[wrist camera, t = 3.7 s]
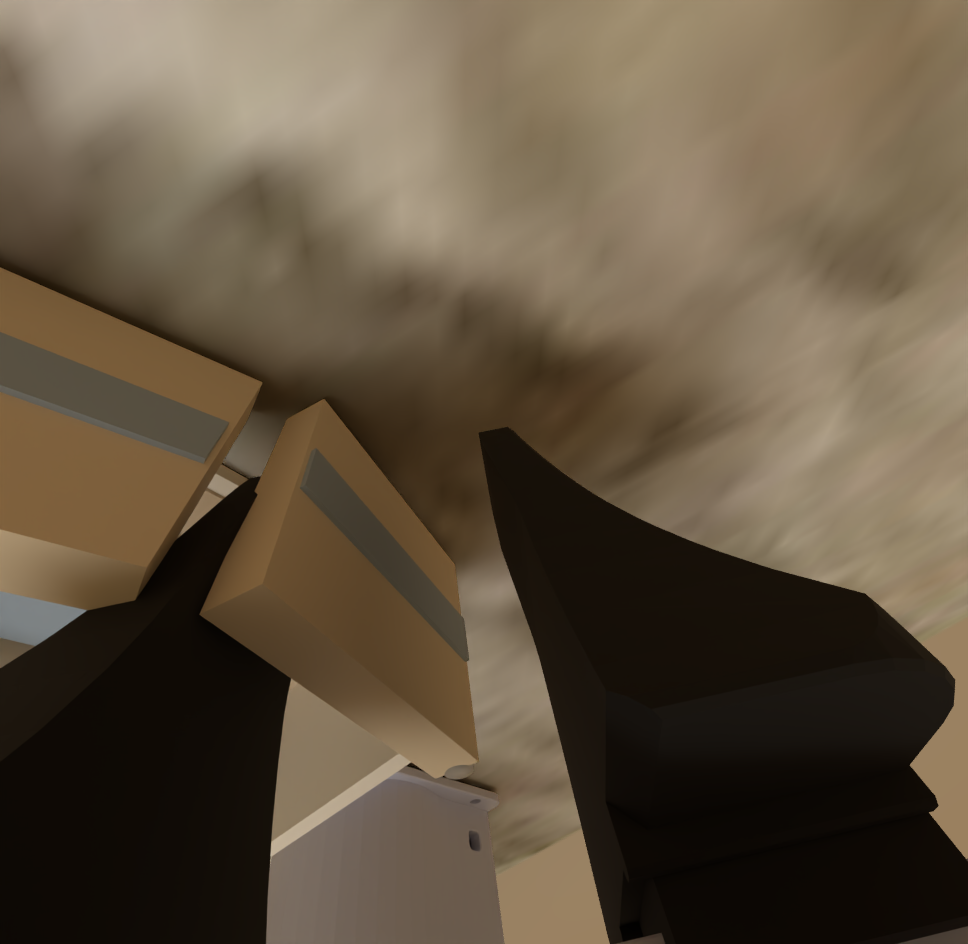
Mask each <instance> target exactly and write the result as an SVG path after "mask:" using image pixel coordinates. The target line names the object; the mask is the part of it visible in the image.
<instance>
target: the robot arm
mask: <svg viewBox="0 0 968 944" xmlns="http://www.w3.org/2000/svg"><path fill="white" fill-rule="evenodd" d="M479 438H480V443H481V449H482V455H483V460H484V466H485V472H486V477H487V483H488V489H489V494H490V500H491V506H492V511H493V515H494V520H495V524H496V528H497V533H498V537H499V541H500V545H501V549H502V552H503V555H504V558H505V561H506V563H507V566H508V569H509V572H510V575H511V577H512V580H513V583H514V586H515V589H516V591H517V594H518V597H519V600H520V602H521V605H522V608H523V611H524V614H525V616H526V619H527V622H528V625H529V627H530V630H531V633H532V636H533V639H534V642H535V645H536V648H537V652H538V655H539V658H540V662H541V666H542V670H543V674H544V678H545V682H546V685H547V689H548V693H549V697H550V701H551V705H552V709H553V713H554V717H555V721H556V725H557V729H558V733H559V737H560V741H561V745H562V749H563V753H564V757H565V761H566V765H567V769H568V773H569V777H570V781H571V785H572V789H573V793H574V798H575V802H576V806H577V810H578V814H579V818H580V822H581V826H582V830H583V834H584V839H585V842H586V847H587V851H588V855H589V859H590V863H591V867H592V872H593V876H594V880H595V884H596V888H597V892H598V897H599V901H600V905H601V909H602V913H603V917H604V922H605V926H606V930H607V934H608V938H609V942H610V944H968V859H965V857H964V856H963V855H962V853H961V852H960V851H959V850H958V849H957V847H956V846H955V845H954V844H953V842H952V841H951V840H950V839H949V837H948V836H947V835H946V834H945V832H944V831H943V830H942V829H941V828H940V826H939V825H938V824H937V822H936V821H935V820H934V819H933V818H932V816H931V815H930V814H929V813H928V812H932V811H934V810H935V809H936V808H937V807H938V803H937V800H936V797H935V795H934V794H933V793H932V792H931V790H930V789H929V788H928V787H927V786H926V785H925V783H924V782H923V781H922V780H921V779H920V777H919V776H918V775H917V774H916V772H915V771H914V770H913V769H912V768H911V767H910V764H911V762H912V761H913V760H914V759H915V757H916V756H917V755H918V754H919V752H920V751H921V750H922V749H923V748H924V746H925V745H926V744H927V742H928V741H929V740H930V739H931V738H932V736H933V735H934V734H935V733H936V731H937V730H938V729H939V727H940V726H941V725H942V724H943V723H944V721H945V719H946V717H947V716H948V714H949V712H950V711H951V709H952V707H953V706H954V693H955V679H954V678H953V676H952V675H951V674H950V672H949V671H948V670H947V668H946V667H945V666H944V665H943V664H942V663H940V661H939V660H938V659H936V658H935V657H934V656H933V655H932V654H931V653H930V652H929V651H928V650H927V649H926V648H925V647H924V646H923V645H922V644H921V643H919V642H918V641H917V640H916V639H915V638H914V637H913V636H912V635H911V634H910V633H909V632H908V631H907V630H906V629H905V628H903V627H902V626H901V625H900V624H899V623H898V622H897V621H896V620H895V619H894V618H893V617H891V616H890V615H889V614H888V613H887V612H886V611H885V610H884V609H883V608H882V607H880V606H879V605H878V604H877V603H876V602H874V601H873V600H872V599H871V598H870V597H868V596H867V595H866V594H864V593H861V592H857V591H853V590H849V589H846V588H842V587H838V586H834V585H831V584H827V583H823V582H819V581H815V580H812V579H808V578H804V577H800V576H797V575H793V574H789V573H785V572H782V571H778V570H774V569H771V568H768V567H764V566H761V565H758V564H755V563H752V562H749V561H746V560H743V559H740V558H737V557H734V556H731V555H728V554H725V553H722V552H719V551H716V550H713V549H711V548H708V547H705V546H703V545H700V544H697V543H695V542H692V541H689V540H687V539H685V538H682V537H680V536H677V535H675V534H673V533H670V532H668V531H666V530H663V529H661V528H659V527H656V526H654V525H652V524H650V523H647V522H645V521H643V520H641V519H639V518H637V517H635V516H633V515H631V514H629V513H627V512H625V511H623V510H622V509H620V508H618V507H616V506H614V505H612V504H610V503H608V502H606V501H605V500H603V499H601V498H600V497H598V496H596V495H594V494H593V493H591V492H590V491H588V490H587V489H585V488H584V487H582V486H581V485H579V484H578V483H576V482H575V481H573V480H572V479H571V478H569V477H568V476H566V475H565V474H564V473H562V472H561V471H560V470H558V469H557V468H556V467H555V466H553V465H552V464H551V463H549V462H548V461H547V460H546V459H544V458H543V457H542V456H541V455H539V454H538V453H537V452H536V451H535V450H534V449H532V448H531V447H530V446H529V445H528V444H527V443H526V442H525V441H523V440H522V439H521V438H520V437H519V436H518V435H517V434H516V433H515V432H514V431H513V430H511V429H510V428H508V427H505V428H500V429H495V430H490V431H485V432H480V433H479ZM260 478H261V476H260V477H255V478H250V479H248V480H247V481H245V482H244V483H242V484H241V485H240V486H238V487H237V488H236V489H235V490H233V491H232V492H231V493H230V494H228V495H227V496H226V497H225V498H224V499H223V500H221V501H220V502H219V503H218V504H217V505H216V506H214V507H213V508H212V509H211V510H210V511H209V512H207V513H206V514H205V515H204V516H203V517H202V518H201V519H199V520H198V521H197V522H196V523H195V524H194V525H193V526H191V527H190V528H189V529H188V530H187V531H186V532H185V533H183V534H182V535H181V536H180V537H179V538H178V539H176V540H175V541H174V543H173V544H172V546H171V547H170V549H169V550H168V552H167V553H166V555H165V557H164V558H163V560H162V561H161V563H160V564H159V566H158V567H157V569H156V570H155V572H154V573H153V575H152V576H151V578H150V579H149V581H148V582H147V584H146V585H145V587H144V588H143V590H142V591H141V593H140V594H139V596H138V597H137V599H136V600H134V601H129V602H124V603H120V604H115V605H110V606H106V607H101V608H96V609H92V610H87V611H86V612H84V613H83V614H81V615H80V616H78V617H77V618H76V619H74V620H73V621H71V622H70V623H68V624H67V625H66V626H64V627H63V628H61V629H60V630H59V631H57V632H56V633H54V634H53V635H51V636H50V637H48V638H47V639H45V640H44V641H42V642H41V643H39V644H38V645H36V646H35V647H33V648H31V649H30V650H28V651H27V652H25V653H24V654H22V655H20V656H19V657H17V658H16V659H14V660H12V661H11V662H9V663H8V664H6V665H5V666H3V667H1V668H0V944H504V937H503V929H502V921H501V913H500V906H499V898H498V890H497V882H496V874H495V866H494V858H493V850H492V842H491V834H490V826H489V818H488V812H489V811H490V810H492V809H494V808H496V807H497V806H498V805H499V796H498V794H497V793H495V792H491V791H488V790H485V789H481V788H478V787H475V786H471V785H468V784H465V783H461V782H458V781H455V780H451V779H448V778H445V777H439V778H436V779H435V778H433V777H432V776H431V775H429V774H428V773H426V772H425V771H421V770H418V769H415V768H411V767H408V766H405V767H404V768H402V769H401V770H399V771H398V772H396V773H395V774H393V775H392V776H390V777H389V778H387V779H386V780H384V781H383V782H381V783H380V784H378V785H377V786H375V787H374V788H372V789H371V790H369V791H368V792H366V793H365V794H364V795H362V796H361V797H359V798H358V799H356V800H355V801H353V802H352V803H350V804H349V805H347V806H346V807H344V808H343V809H341V810H340V811H338V812H337V813H335V814H334V815H332V816H331V817H329V818H328V819H326V820H325V821H323V822H322V823H321V824H319V825H318V826H316V827H315V828H313V829H312V830H310V831H309V832H307V833H306V834H304V835H303V836H301V837H300V838H298V839H297V840H295V841H294V842H292V843H291V844H289V845H288V846H286V847H285V848H283V849H282V850H280V851H279V852H277V853H276V854H275V855H273V856H272V859H271V864H270V855H271V840H272V825H273V814H274V804H275V793H276V782H277V772H278V762H279V754H280V746H281V737H282V729H283V721H284V713H285V708H286V702H287V697H288V691H289V687H290V682H291V678H290V677H288V676H287V675H285V674H284V673H283V672H281V671H280V670H278V669H277V668H275V667H274V666H272V665H271V664H270V663H268V662H267V661H265V660H264V659H262V658H261V657H260V656H258V655H257V654H255V653H254V652H252V651H251V650H250V649H248V648H247V647H245V646H244V645H242V644H241V643H239V642H238V641H237V640H235V639H234V638H232V637H231V636H229V635H228V634H227V633H225V632H224V631H222V630H221V629H219V628H218V627H216V626H215V625H214V624H212V623H211V622H209V621H208V620H206V619H205V618H204V617H202V616H201V615H199V614H200V612H201V610H202V607H203V605H204V603H205V601H206V598H207V596H208V594H209V592H210V590H211V587H212V585H213V583H214V581H215V578H216V576H217V574H218V572H219V569H220V567H221V565H222V563H223V561H224V558H225V556H226V554H227V552H228V550H229V549H230V547H231V545H232V543H233V541H234V539H235V537H236V535H237V533H238V531H239V529H240V528H241V526H242V524H243V522H244V520H245V518H246V516H247V514H248V512H249V510H250V508H251V507H252V505H253V503H254V501H255V499H256V497H257V495H258V494H257V493H256V492H255V489H256V487H257V485H258V483H259V480H260Z"/></svg>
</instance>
